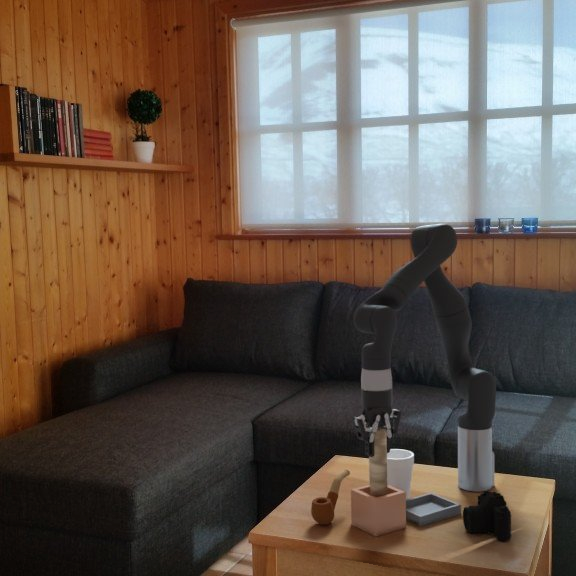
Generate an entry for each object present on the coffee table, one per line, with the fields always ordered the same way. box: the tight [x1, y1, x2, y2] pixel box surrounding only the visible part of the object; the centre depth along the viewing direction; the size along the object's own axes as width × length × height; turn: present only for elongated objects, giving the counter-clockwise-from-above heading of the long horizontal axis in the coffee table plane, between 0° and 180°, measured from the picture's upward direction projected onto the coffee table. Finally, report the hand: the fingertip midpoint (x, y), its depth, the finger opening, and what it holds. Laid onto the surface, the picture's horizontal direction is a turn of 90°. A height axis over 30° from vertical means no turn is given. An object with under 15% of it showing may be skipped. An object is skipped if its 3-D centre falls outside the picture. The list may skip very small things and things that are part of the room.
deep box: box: [350, 484, 407, 537], centre depth 197 cm, size 10×10×9 cm
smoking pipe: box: [310, 469, 351, 526], centre depth 204 cm, size 7×18×6 cm
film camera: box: [462, 490, 512, 541], centre depth 193 cm, size 15×10×9 cm, turn 6°
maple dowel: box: [368, 427, 388, 496], centre depth 196 cm, size 4×4×16 cm
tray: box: [406, 492, 462, 527], centre depth 205 cm, size 14×11×2 cm
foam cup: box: [387, 448, 415, 500], centre depth 213 cm, size 10×9×13 cm
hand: (377, 453), depth 196 cm, fingers closed on maple dowel, 4 cm apart
